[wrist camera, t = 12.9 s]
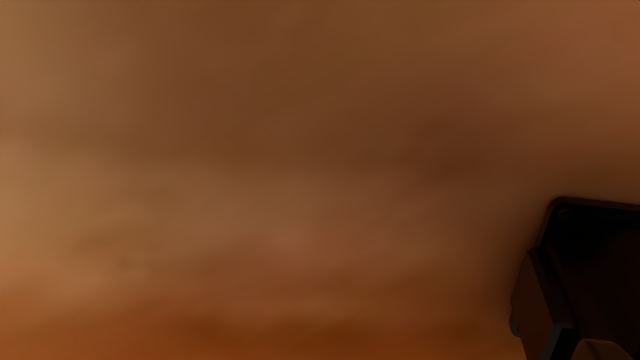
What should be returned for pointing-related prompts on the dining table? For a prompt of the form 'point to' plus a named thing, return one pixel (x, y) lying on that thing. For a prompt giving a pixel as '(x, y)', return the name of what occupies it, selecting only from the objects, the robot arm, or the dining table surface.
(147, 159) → the dining table surface
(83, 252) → the dining table surface
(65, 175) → the dining table surface
